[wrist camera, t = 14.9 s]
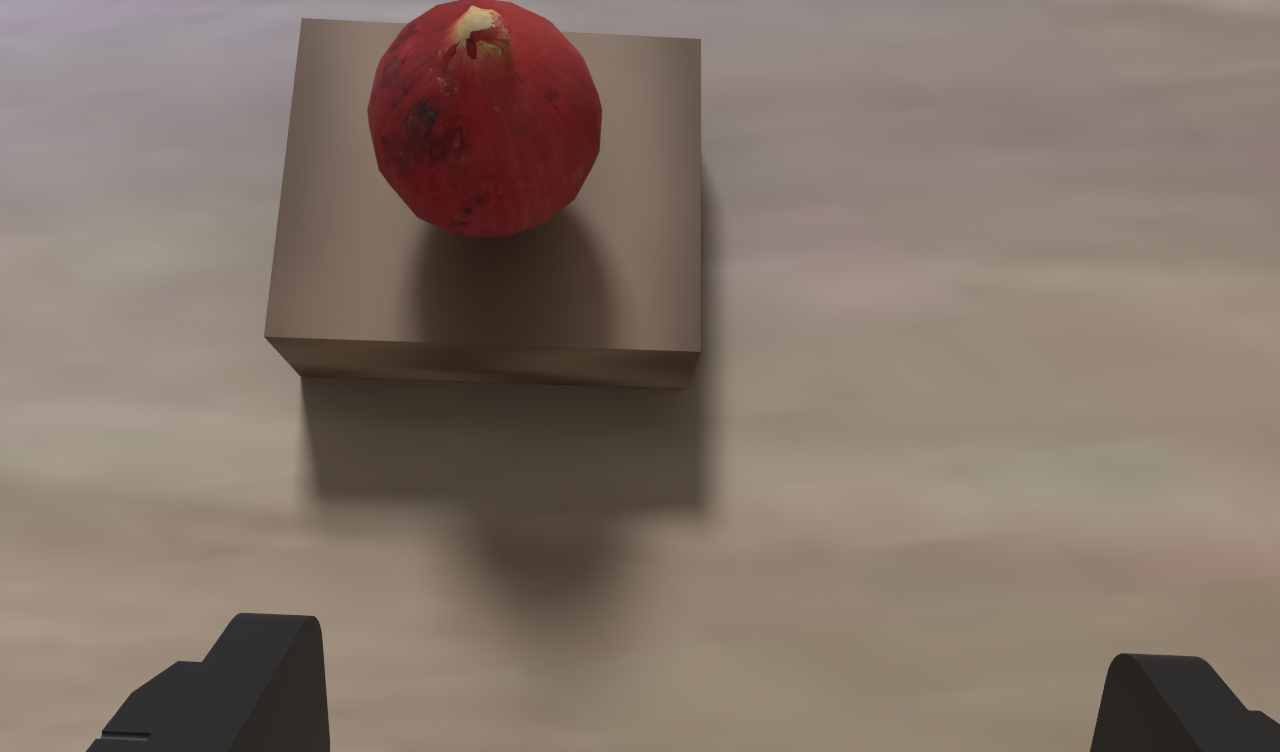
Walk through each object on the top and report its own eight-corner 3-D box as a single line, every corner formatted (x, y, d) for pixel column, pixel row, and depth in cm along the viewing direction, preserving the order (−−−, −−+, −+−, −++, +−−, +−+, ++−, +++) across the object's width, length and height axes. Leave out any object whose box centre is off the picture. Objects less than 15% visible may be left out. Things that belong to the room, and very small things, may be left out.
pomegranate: (480, 320, 29) (450, 196, 21) (351, 174, 30) (279, 4, 22) (636, 197, 30) (661, 39, 23) (509, 61, 31) (491, -136, 24)
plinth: (686, 106, 36) (701, 39, 32) (685, 388, 33) (700, 351, 29) (331, 89, 35) (301, 18, 31) (300, 376, 32) (263, 336, 28)
